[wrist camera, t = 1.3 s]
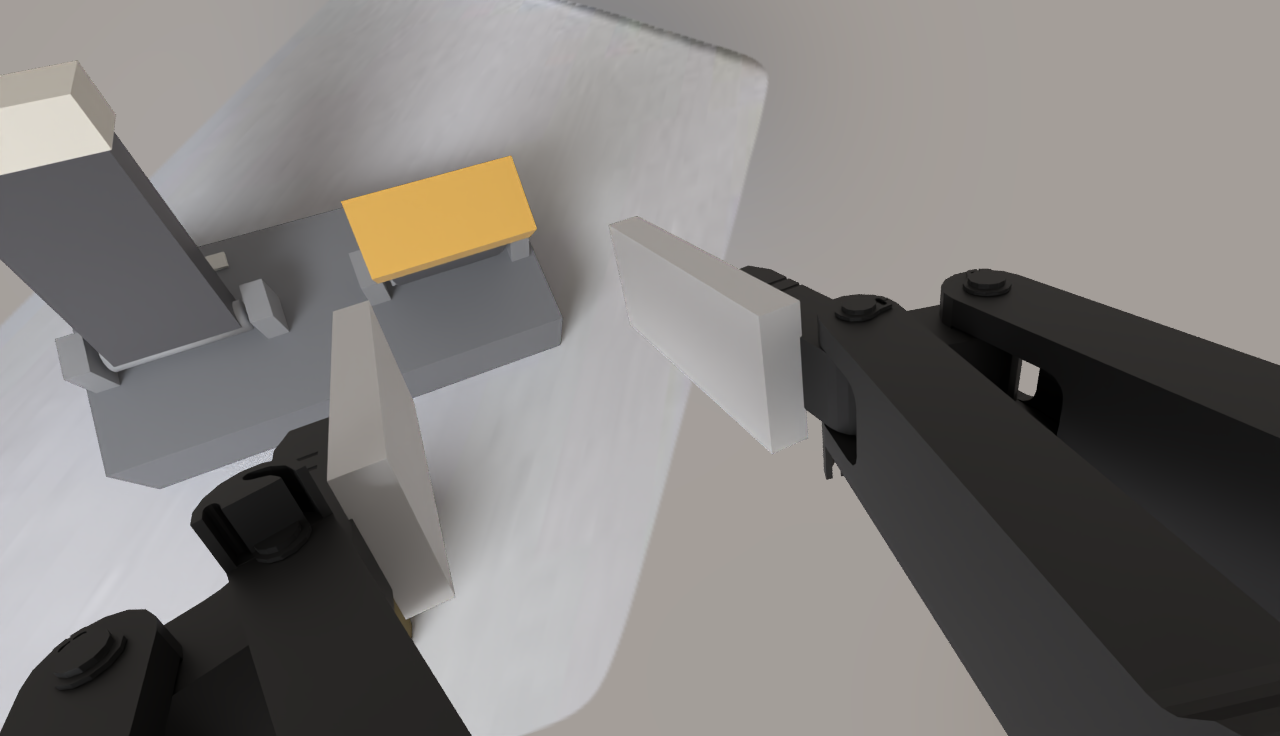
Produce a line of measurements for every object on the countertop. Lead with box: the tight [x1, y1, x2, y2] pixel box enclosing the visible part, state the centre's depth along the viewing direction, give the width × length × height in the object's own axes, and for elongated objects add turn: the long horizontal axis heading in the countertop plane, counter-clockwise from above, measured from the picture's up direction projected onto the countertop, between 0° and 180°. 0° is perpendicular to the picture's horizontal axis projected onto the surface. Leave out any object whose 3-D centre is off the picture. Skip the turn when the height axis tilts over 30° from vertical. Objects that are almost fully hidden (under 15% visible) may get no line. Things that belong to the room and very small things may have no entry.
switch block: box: [55, 208, 563, 489], centre depth 39 cm, size 26×12×8 cm, turn 114°
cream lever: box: [0, 61, 254, 372], centre depth 30 cm, size 3×7×15 cm, turn 114°
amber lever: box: [341, 156, 537, 286], centre depth 33 cm, size 3×7×15 cm, turn 114°
